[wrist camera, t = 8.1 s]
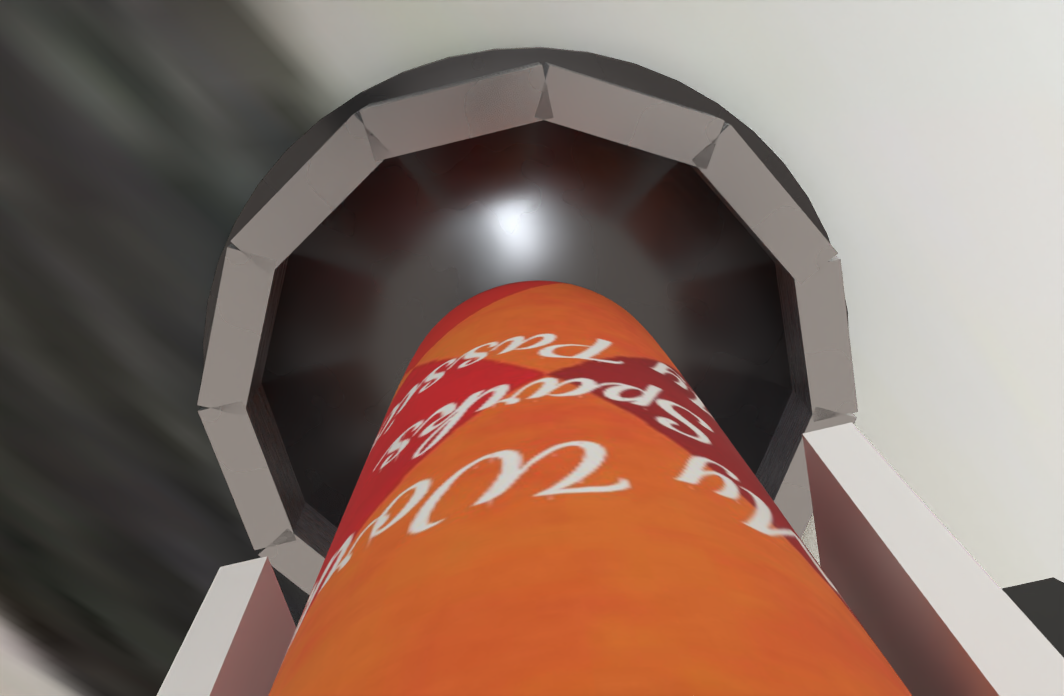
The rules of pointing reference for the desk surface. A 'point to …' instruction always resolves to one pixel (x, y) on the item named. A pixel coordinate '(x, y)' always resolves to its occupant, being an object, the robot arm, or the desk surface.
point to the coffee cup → (566, 532)
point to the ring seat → (511, 270)
